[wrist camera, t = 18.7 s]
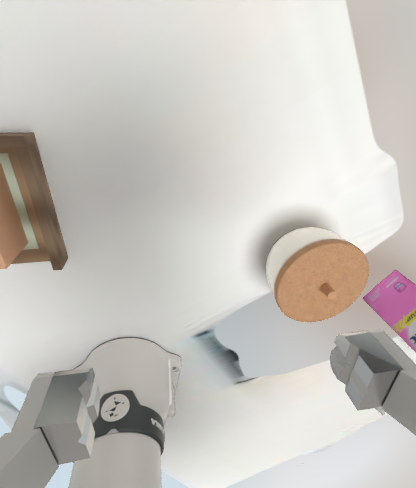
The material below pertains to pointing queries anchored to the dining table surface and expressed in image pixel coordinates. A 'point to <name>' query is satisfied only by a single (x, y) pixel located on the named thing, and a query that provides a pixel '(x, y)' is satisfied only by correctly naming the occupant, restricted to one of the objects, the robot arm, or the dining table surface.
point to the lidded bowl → (315, 274)
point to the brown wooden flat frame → (32, 200)
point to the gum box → (396, 305)
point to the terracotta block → (9, 225)
